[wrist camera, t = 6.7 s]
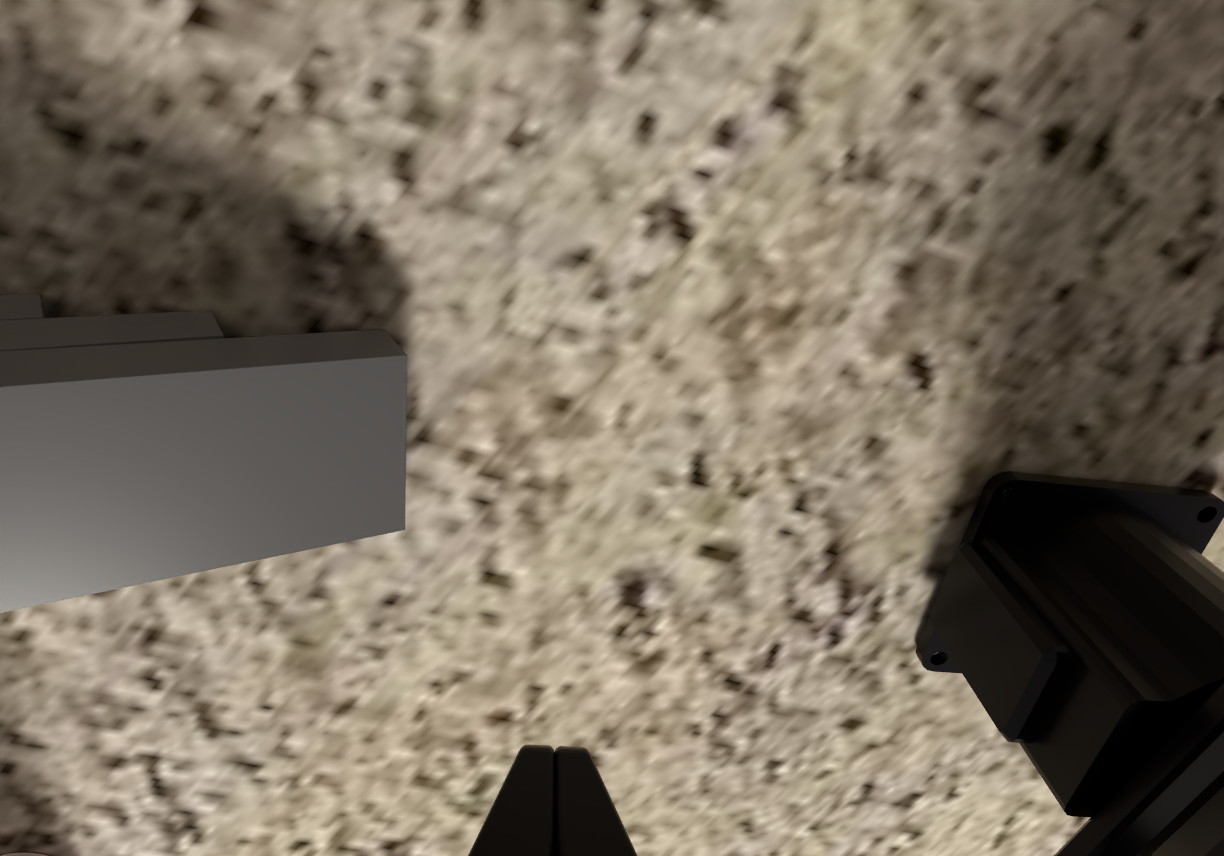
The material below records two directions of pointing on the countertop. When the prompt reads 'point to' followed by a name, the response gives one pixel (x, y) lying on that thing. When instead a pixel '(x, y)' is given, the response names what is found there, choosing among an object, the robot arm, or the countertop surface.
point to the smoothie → (24, 854)
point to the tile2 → (107, 330)
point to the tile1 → (193, 456)
